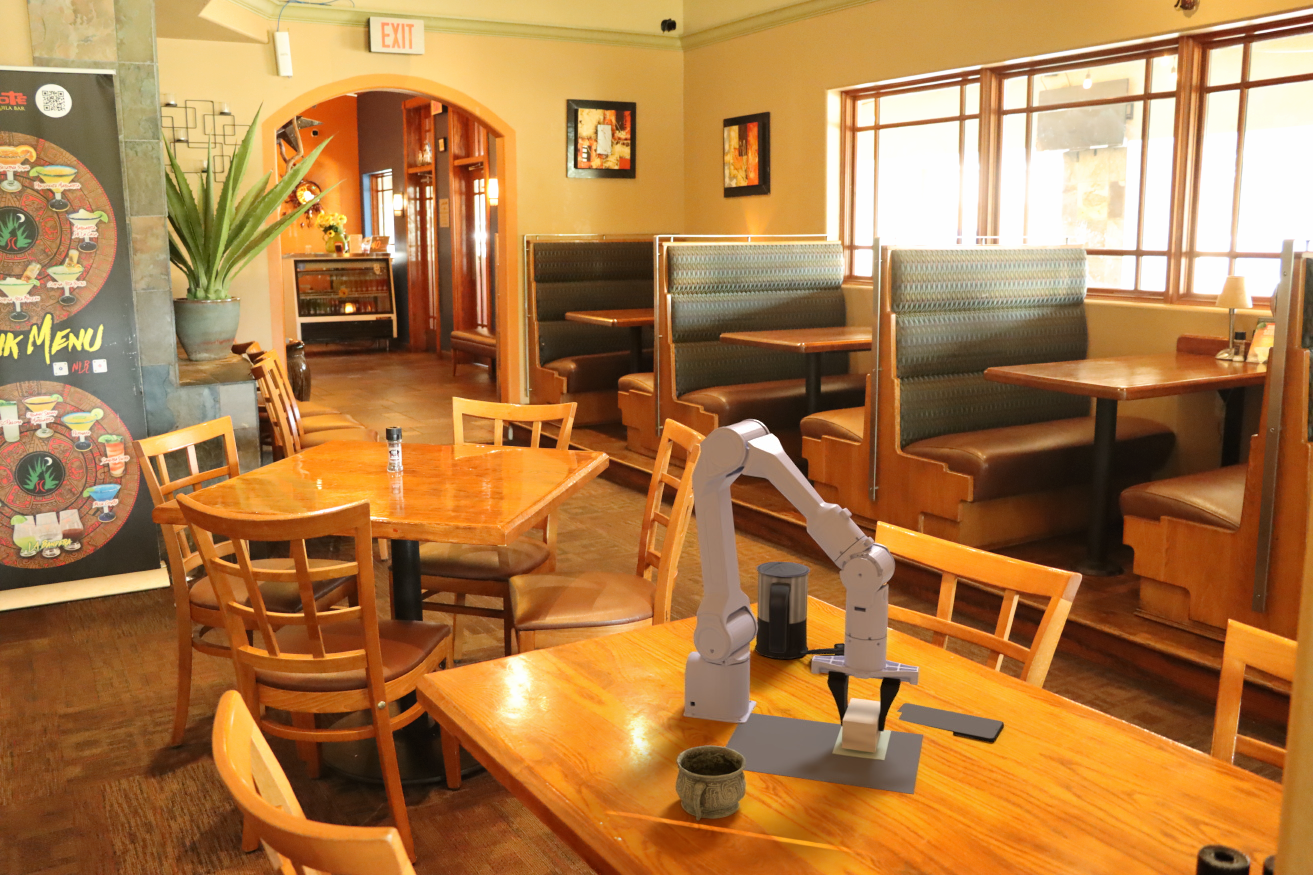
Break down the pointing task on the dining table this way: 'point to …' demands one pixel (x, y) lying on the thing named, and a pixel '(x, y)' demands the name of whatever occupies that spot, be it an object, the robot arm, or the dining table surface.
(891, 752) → the rubber mat
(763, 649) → the milk frother
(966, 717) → the smartphone
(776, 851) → the dining table surface
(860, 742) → the birch block
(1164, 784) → the dining table surface
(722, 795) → the vessel
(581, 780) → the dining table surface
